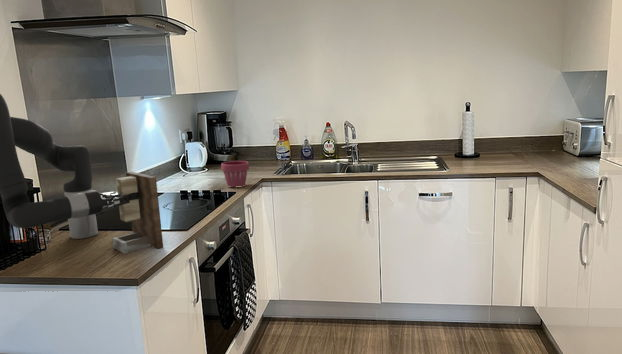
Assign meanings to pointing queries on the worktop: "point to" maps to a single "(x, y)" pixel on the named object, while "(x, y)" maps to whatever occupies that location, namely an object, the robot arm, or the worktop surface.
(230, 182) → the plant pot
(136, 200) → the ridged beige block
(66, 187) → the robot arm
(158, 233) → the upright wooden board
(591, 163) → the worktop surface
